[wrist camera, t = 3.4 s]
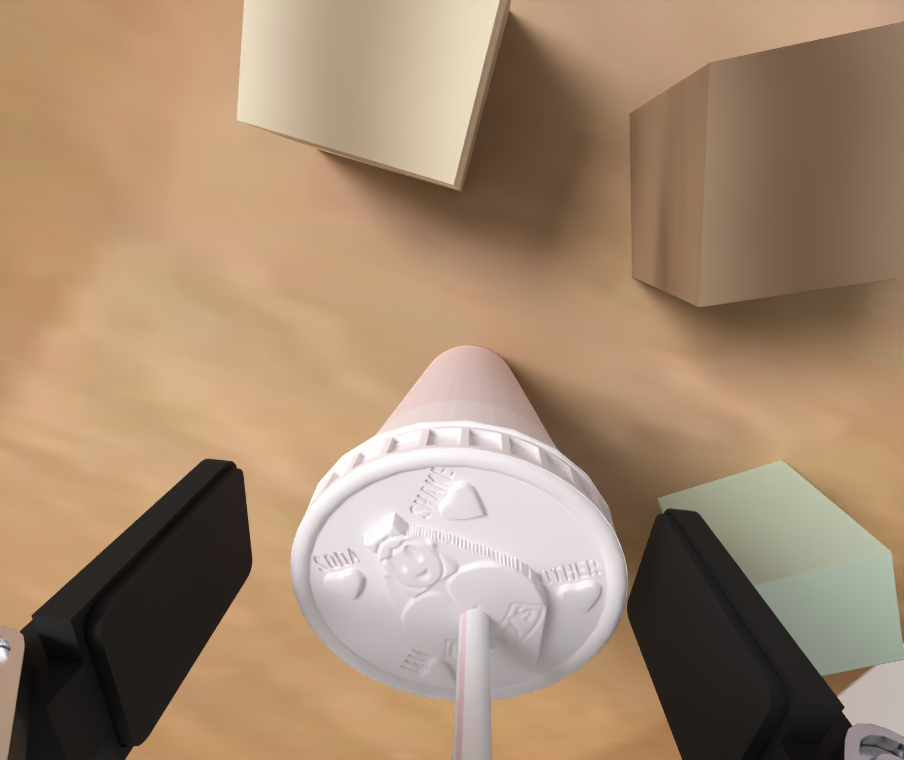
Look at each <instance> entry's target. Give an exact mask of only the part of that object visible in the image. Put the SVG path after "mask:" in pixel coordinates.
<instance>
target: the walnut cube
mask: <svg viewBox="0 0 904 760" xmlns="http://www.w3.org/2000/svg"><path fill="white" fill-rule="evenodd" d="M630 162H631V229H632V277H633V278H635V279H638V280H640V281H642V282H644V283H647V284H649V285H651V286H653V287H655V288H658V289H660V290H662V291H664V292H666V293H669V294H671V295H673V296H675V297H677V298H680V299H682V300H684V301H686V302H688V303H691V304H693V305H695V306H697V307H705V306H712V305H719V304H726V303H732V302H739V301H746V300H753V299H760V298H767V297H774V296H780V295H787V294H794V293H801V292H808V291H815V290H822V289H829V288H835V287H842V286H849V285H856V284H863V283H870V282H877V281H883V280H890V279H897V278H904V22H900V23H895V24H890V25H885V26H881V27H876V28H871V29H866V30H862V31H857V32H852V33H848V34H843V35H838V36H833V37H829V38H824V39H819V40H815V41H810V42H805V43H800V44H796V45H791V46H786V47H782V48H777V49H772V50H767V51H763V52H758V53H753V54H748V55H744V56H739V57H734V58H730V59H725V60H720V61H715V62H711V63H708V64H707V65H705V66H704V67H702V68H701V69H699V70H697V71H696V72H694V73H693V74H691V75H690V76H688V77H686V78H685V79H683V80H682V81H680V82H679V83H677V84H676V85H674V86H672V87H671V88H669V89H668V90H666V91H665V92H663V93H661V94H660V95H658V96H657V97H655V98H654V99H652V100H650V101H649V102H647V103H646V104H644V105H643V106H641V107H639V108H638V109H636V110H635V111H633V112H632V113H630Z"/></svg>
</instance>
